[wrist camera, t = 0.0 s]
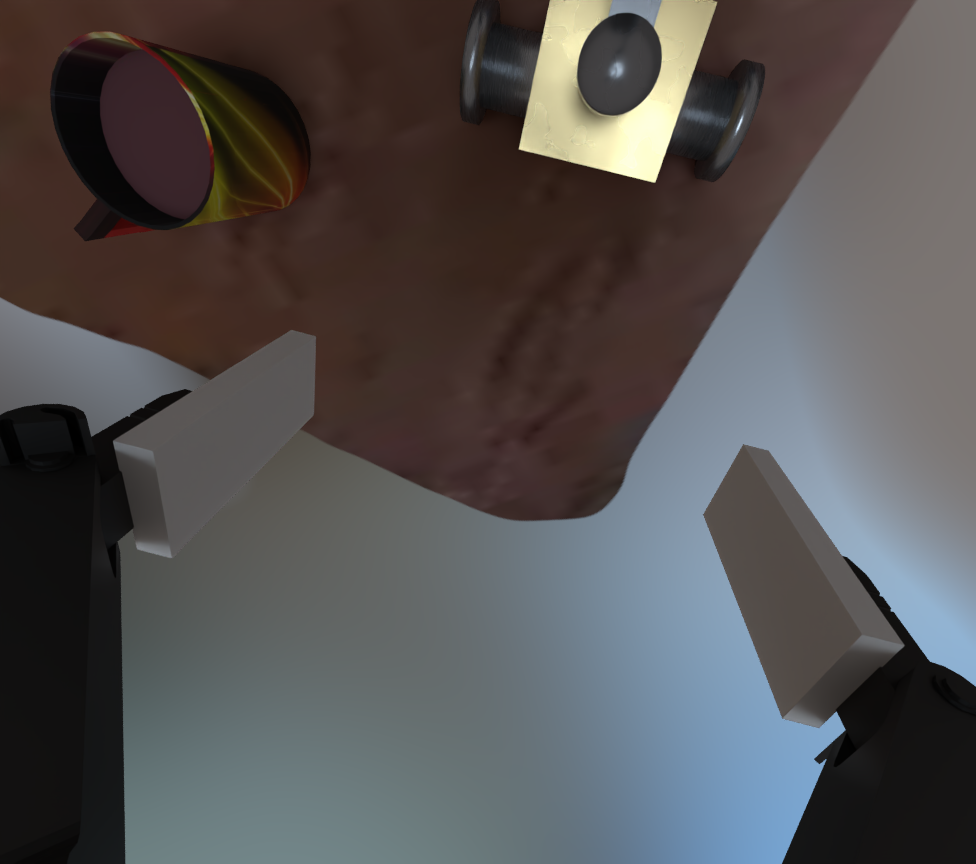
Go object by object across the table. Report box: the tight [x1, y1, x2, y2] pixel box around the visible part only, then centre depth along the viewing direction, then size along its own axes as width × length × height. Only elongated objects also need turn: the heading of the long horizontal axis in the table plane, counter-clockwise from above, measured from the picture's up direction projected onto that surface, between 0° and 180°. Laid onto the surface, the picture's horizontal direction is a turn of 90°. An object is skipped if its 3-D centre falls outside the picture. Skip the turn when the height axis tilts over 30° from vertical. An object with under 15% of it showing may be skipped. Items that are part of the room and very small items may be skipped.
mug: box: [50, 32, 311, 241], centre depth 34 cm, size 10×14×12 cm
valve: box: [460, 0, 765, 183], centre depth 29 cm, size 17×8×9 cm, turn 78°
